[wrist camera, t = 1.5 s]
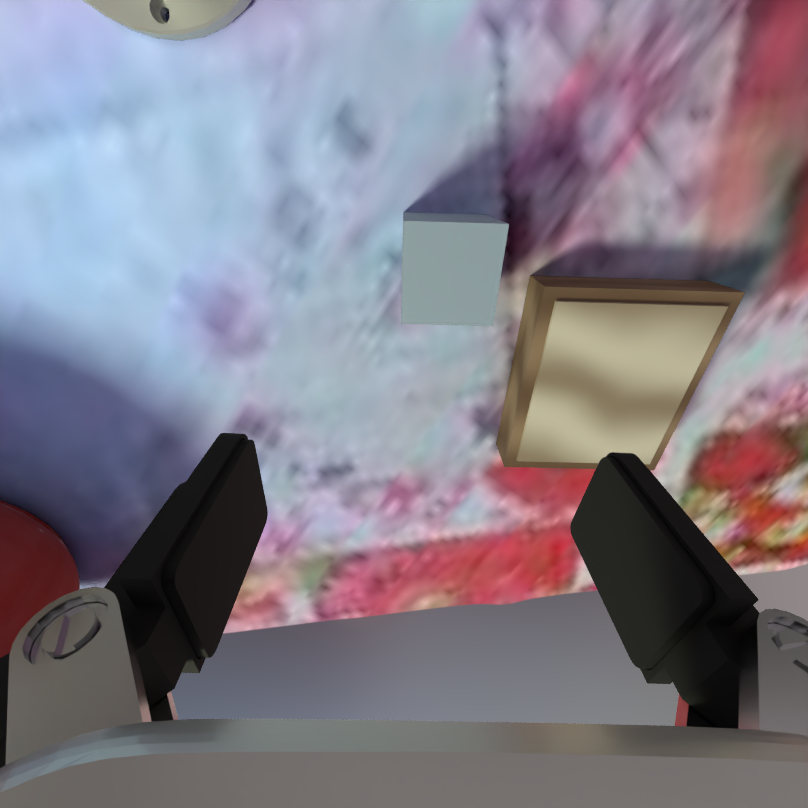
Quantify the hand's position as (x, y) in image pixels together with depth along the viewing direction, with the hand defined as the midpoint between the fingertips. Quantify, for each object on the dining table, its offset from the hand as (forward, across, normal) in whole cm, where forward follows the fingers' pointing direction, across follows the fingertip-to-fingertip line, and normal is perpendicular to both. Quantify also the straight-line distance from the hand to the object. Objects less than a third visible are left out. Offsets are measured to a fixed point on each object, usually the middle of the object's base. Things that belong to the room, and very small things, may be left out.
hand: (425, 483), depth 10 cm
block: (+18, -2, -3) cm, 18 cm away
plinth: (+17, -14, +5) cm, 23 cm away
